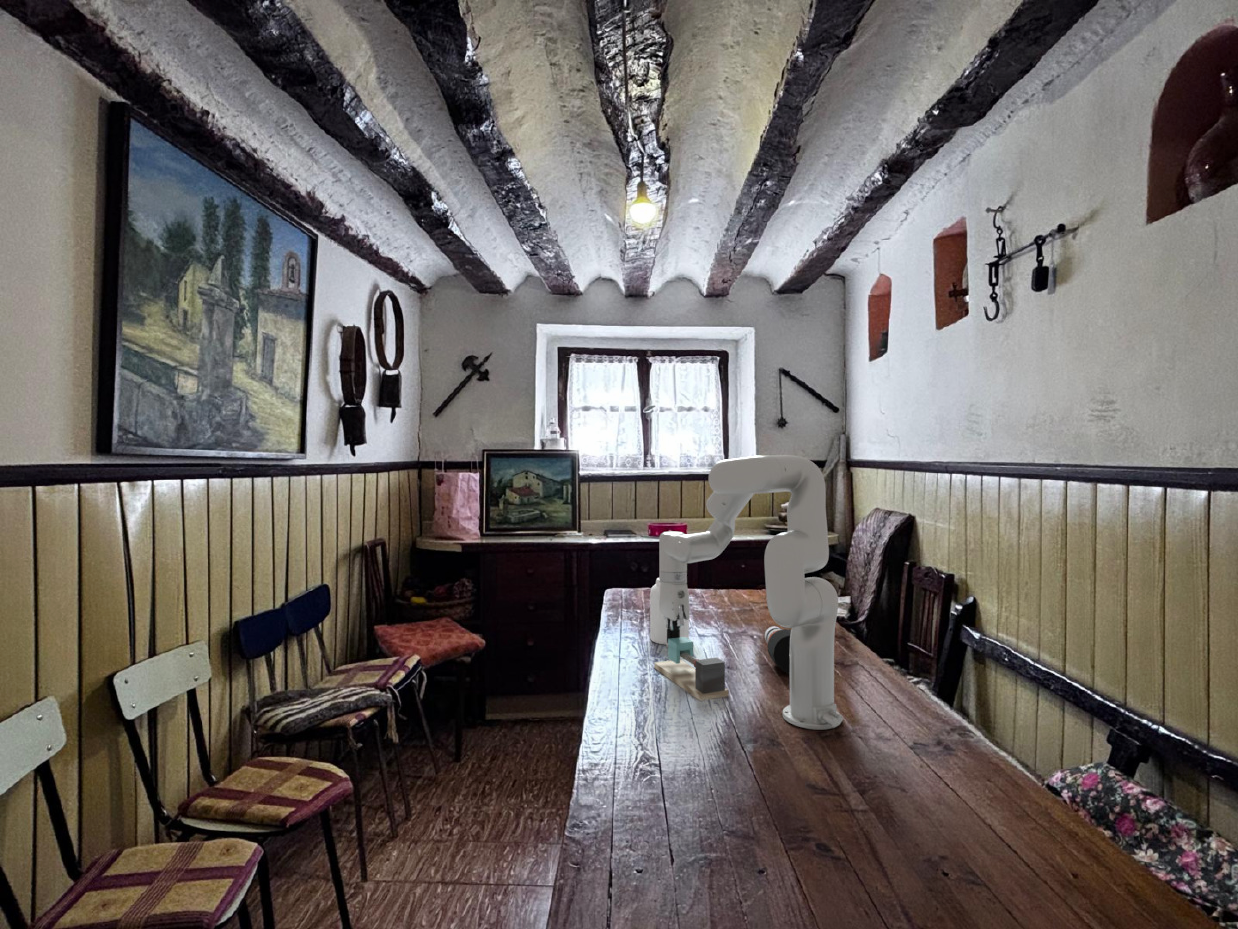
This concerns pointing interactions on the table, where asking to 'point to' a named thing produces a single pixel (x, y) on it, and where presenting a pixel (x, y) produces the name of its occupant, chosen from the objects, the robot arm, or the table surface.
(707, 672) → the wooden slide rail
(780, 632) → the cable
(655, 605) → the white jar
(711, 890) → the table surface
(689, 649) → the sleeve
